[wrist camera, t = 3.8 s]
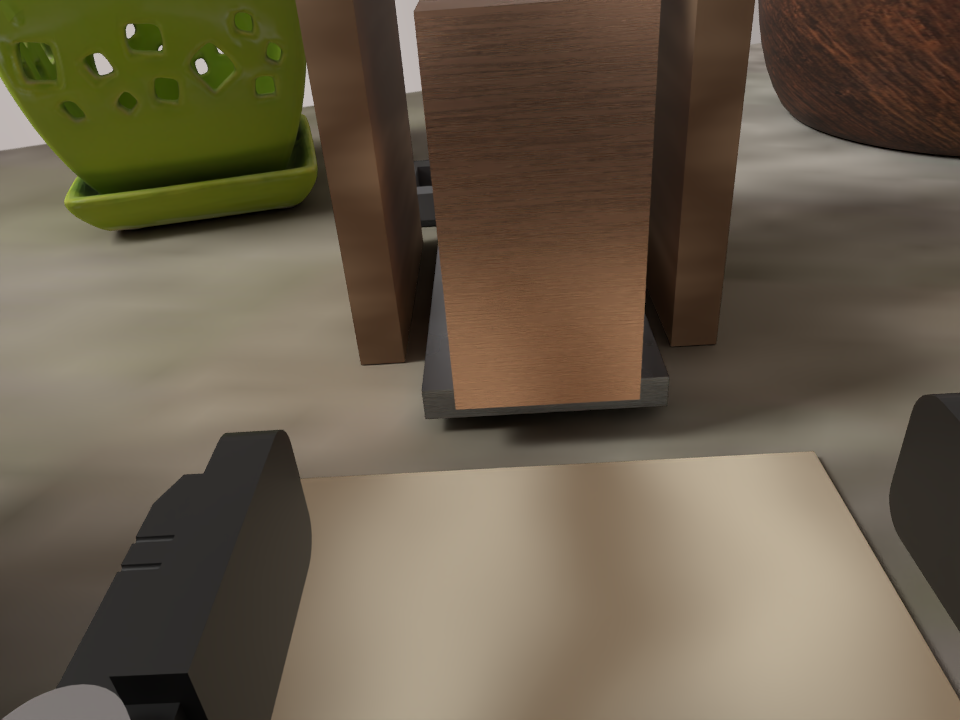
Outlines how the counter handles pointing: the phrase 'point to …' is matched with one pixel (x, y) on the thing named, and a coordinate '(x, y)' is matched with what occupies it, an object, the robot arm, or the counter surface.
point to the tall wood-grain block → (540, 204)
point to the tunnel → (392, 184)
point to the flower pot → (165, 104)
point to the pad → (601, 598)
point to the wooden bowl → (868, 69)
